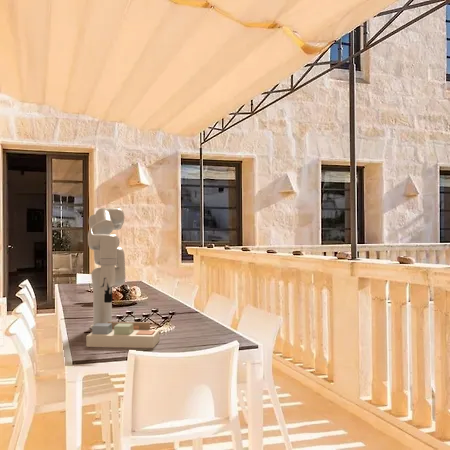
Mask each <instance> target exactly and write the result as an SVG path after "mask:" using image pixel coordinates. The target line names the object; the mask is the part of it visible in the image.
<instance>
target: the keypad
mask: <svg viewBox="0 0 450 450" xmlns="http://www.w3.org/2000/svg"><path fill="white" fill-rule="evenodd" d="M108 323H112V332H110V333H109V334H92V331H91V332H90V333H88V334H87V335H86V340H85V341H86V342H85V343H86V344H85V345H86V347H87V348H89V347H90V348H129V349H130V348H135V349H137V348H139V349H141V348H143V349H146V348H147V349H154V348H155V347H156V346H157V344H158V343H159V342H160V331H161V330H160V329H151V322H149V321H146V322H145V321H112V322H108ZM118 323H129V324H133V333H131V334H130V335H125V334H114V326H115V325H117V324H118ZM140 330H143V331H155V333H154V334H153V335H136V333H138V332H139V331H140Z"/></svg>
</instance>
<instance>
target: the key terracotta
mask: <svg viewBox="0 0 450 450" xmlns="http://www.w3.org/2000/svg"><path fill="white" fill-rule="evenodd" d="M154 333H155V331H143V330H140V331H139V332H138V333H136V335H153V334H154Z"/></svg>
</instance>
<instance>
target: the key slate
mask: <svg viewBox="0 0 450 450" xmlns="http://www.w3.org/2000/svg"><path fill="white" fill-rule="evenodd" d="M91 332H92V334H109V333H110V332H112V323H97V324H95V325H93V326H92V329H91Z"/></svg>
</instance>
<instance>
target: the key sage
mask: <svg viewBox="0 0 450 450" xmlns="http://www.w3.org/2000/svg"><path fill="white" fill-rule="evenodd" d="M131 333H133V324H129V323H118V324H117V325H115V326H114V334H125V335H130V334H131Z"/></svg>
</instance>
